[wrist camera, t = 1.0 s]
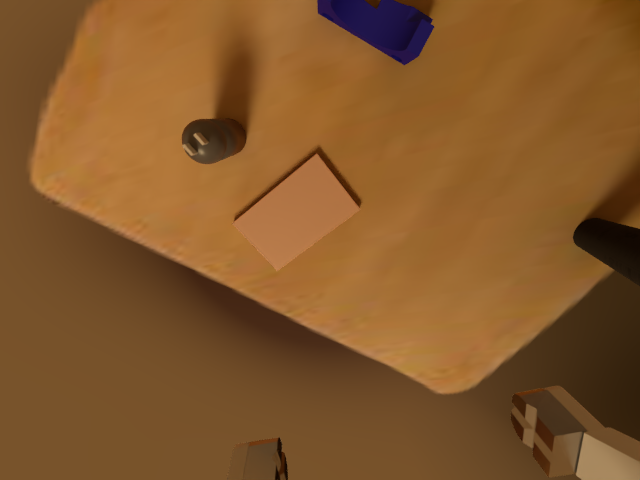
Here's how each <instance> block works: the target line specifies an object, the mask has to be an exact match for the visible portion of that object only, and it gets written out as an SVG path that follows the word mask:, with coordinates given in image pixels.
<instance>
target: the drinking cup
mask: <svg viewBox="0 0 640 480" xmlns="http://www.w3.org/2000/svg"><path fill="white" fill-rule="evenodd" d="M573 239H574V242H575V244H576V245H577V246H578V247H580V248H582V249H583V250H585V251H586V252H588V253H589V254H591V255H592V256H594V257H596V258H597V259H599V260H600V261H602V262H603V263H605V264H606V265H608V266H609V267H611V268H613V269H614V270H616V271H617V272H619V273H620V274H622V275H623V276H625V277H627V278H628V279H630V280H631V281H633V282H634V283H636V284H637V285H639V286H640V229H638V228H634V227H630V226H626V225H622V224H618V223H614V222H610V221H606V220H602V219H598V218H593V219H589V220H586V221H584V222H583V223H581V224H580V225H579V226H578V227H577V229H576V230H575V232H574V236H573Z"/></svg>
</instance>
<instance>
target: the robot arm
mask: <svg viewBox="0 0 640 480" xmlns="http://www.w3.org/2000/svg"><path fill="white" fill-rule="evenodd" d="M512 403H513V404H514V405H515V407H514V408H513V410H512V411H511V421H512V424H513V428H514V429H515V431H516V433H517V435H518V436H519V438H520V439H521V441H522V442H523V443H525V444H526V445H528V446H529V447H531V448H532V451H533V457H534V458H535V460H536V461H537V463H538V464H539V465H540V467H541V468H542V469H543V471H544V472H545V473H546V475H547V476H548V477H556V476H563V475H569V474H576V475H577V476H578V477H579V478H581V479H582V480H640V442H639V441H637V440H635V439H633V438H631V437H629V436H627V435H625V434H623V433H620V432H618V431H616V430H614V429H612V428H610V427H609V428H605V427H604V426H603V425H601V424H600V423H599V422H598V421H597V420H596V419H595V418H594V417H593V416H592V415H591V414H590V413H589V412H588V411H587V410H586V409H584V408H583V407H582V406H581V405H580V404H579V403H578V402H577V401H576V400H575V399H574V398H573V397H572V396H571V395H570V394H569V393H568V392H567V391H565V390H564V389H563V388H562V387H560V386H553V387H547V388H543V389H542V388H540V389H535V390H530V391H526V392H520V393H515V394H514V395H513V396H512ZM227 480H288V469H287V461H286V456H285V453H283V452H282V442H281V439H280V437H278V438H272V439H265V440H259V441H252V442H246V443H240V444H236V445H235V447H234V449H233V453H232V457H231V462H230V467H229V472H228V477H227Z"/></svg>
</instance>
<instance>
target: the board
mask: <svg viewBox="0 0 640 480" xmlns="http://www.w3.org/2000/svg"><path fill="white" fill-rule="evenodd" d="M359 210H360V208H359V206H358V205H357V204H356V203H355V201H354V200H353V199H352V197H351V196H350V195H349V194H348V192H347V191H346V190H345V188H344V187H343V186H342V184H341V183H340V182H339V181H338V179H337V178H336V177H335V175H334V174H333V173H332V172H331V170H330V169H329V168H328V166H327V165H326V164H325V163H324V161H323V160H322V159H321V157H320V156H319V155H318V153H316V154H315V155H314V156H312V157H311V158H310V159H309V160H308V161H306V162H305V163H304V164H303V165H302V166H300V167H299V168H298V169H297V170H295V171H294V172H293V173H292V174H291V175H289V176H288V177H287V178H286V179H285V180H283V181H282V182H281V183H280V184H279V185H277V186H276V187H275V188H274V189H273V190H271V191H270V192H269V193H268V194H267V195H265V196H264V197H263V198H262V199H260V200H259V201H258V202H257V203H256V204H254V205H253V206H252V207H251V208H250V209H248V210H247V211H246V212H245V213H244V214H242V215H241V216H240V217H239V218H238V219H236V220H235V221H234V222H233V223H232V224H233V225H234V226H235V227H236V228H237V229H238V230H239V231H240V233H241V234H242V235H243V236H244V237H245V238H246V239H247V240H248V241H249V242H250V243H251V244H252V245H253V246H254V247H255V248H256V249H257V250H258V251H259V252H260V253H261V254H262V255H263V257H264V258H265V259H266V260H267V261H268V262H269V263H270V264H271V265H272V266H273V267H274V268H275V269H276V270H277V271H278V270H279V269H281V268H282V267H283V266H285V265H286V264H287V263H289V262H290V261H291V260H293V259H294V258H296V257H297V256H298V255H300V254H301V253H302V252H304V251H305V250H306V249H308V248H309V247H310V246H312V245H313V244H314V243H316V242H317V241H319V240H320V239H321V238H323V237H324V236H325V235H327V234H328V233H329V232H331V231H332V230H333V229H335V228H336V227H338V226H339V225H340V224H342V223H343V222H344V221H346V220H347V219H348V218H350V217H351V216H352V215H354V214H355V213H356V212H358V211H359Z"/></svg>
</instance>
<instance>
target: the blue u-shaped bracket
mask: <svg viewBox="0 0 640 480" xmlns="http://www.w3.org/2000/svg"><path fill="white" fill-rule="evenodd" d="M318 13H319V14H320V15H322V16H324V17H325V18H327V19H328V20H330V21H332V22H333V23H335V24H337V25H338V26H340V27H342V28H343V29H345V30H347V31H348V32H350V33H352V34H353V35H355V36H357V37H358V38H360V39H362V40H363V41H365V42H367V43H368V44H370V45H372V46H373V47H375V48H377V49H378V50H380V51H382V52H383V53H385V54H387V55H388V56H390V57H392V58H393V59H395V60H397V61H398V62H400V63H402V64H403V65H406V64H407V63H409V62H410V61H412V60H414V59H415V58H417V57H418V56H419V54H420V52H421V51H422V49H423V47H424V45H425V43H426V41H427V39H428V38H429V36H430V34H431V32H432V30H433V28H434V26H433V25H431V22H432V20H433V19H431V18H430V17H428V16H427V15H425V14H423V13H422V12H420V11H419V10H417V9H416V8H414V7H412V6H407V5H404V4H401V3H398V2H396V1H394V0H381V1H380V3H379V6H378V8H377V9H375V8H374V7H372V6H371V5H370V4H368V3H367V2H366V1H365V0H318Z"/></svg>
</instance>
